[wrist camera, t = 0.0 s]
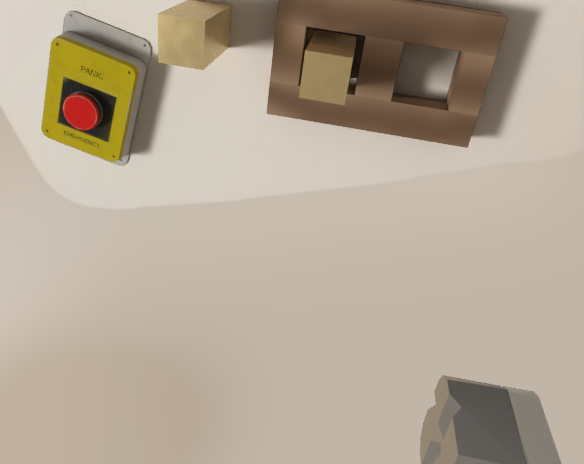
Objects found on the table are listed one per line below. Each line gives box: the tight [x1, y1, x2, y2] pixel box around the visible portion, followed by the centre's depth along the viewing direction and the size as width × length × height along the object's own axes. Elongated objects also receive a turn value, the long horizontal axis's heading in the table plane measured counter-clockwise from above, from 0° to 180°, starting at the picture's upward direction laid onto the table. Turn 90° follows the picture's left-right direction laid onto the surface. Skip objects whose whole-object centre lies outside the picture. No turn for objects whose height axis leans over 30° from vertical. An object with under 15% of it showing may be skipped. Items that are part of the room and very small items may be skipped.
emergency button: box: [42, 11, 151, 165], centre depth 57 cm, size 9×4×15 cm
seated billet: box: [299, 30, 357, 105], centre depth 50 cm, size 4×4×9 cm
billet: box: [158, 0, 231, 70], centre depth 50 cm, size 4×4×9 cm
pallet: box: [267, 0, 508, 148], centre depth 52 cm, size 12×20×3 cm, turn 83°
